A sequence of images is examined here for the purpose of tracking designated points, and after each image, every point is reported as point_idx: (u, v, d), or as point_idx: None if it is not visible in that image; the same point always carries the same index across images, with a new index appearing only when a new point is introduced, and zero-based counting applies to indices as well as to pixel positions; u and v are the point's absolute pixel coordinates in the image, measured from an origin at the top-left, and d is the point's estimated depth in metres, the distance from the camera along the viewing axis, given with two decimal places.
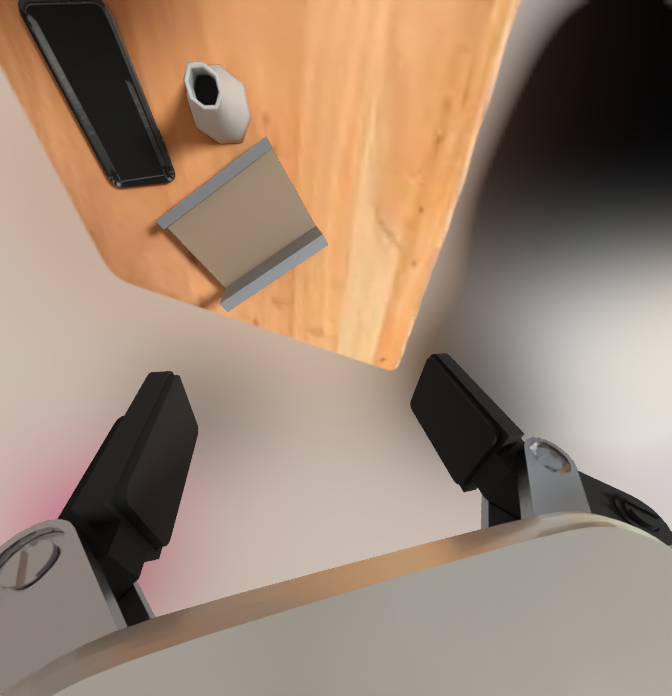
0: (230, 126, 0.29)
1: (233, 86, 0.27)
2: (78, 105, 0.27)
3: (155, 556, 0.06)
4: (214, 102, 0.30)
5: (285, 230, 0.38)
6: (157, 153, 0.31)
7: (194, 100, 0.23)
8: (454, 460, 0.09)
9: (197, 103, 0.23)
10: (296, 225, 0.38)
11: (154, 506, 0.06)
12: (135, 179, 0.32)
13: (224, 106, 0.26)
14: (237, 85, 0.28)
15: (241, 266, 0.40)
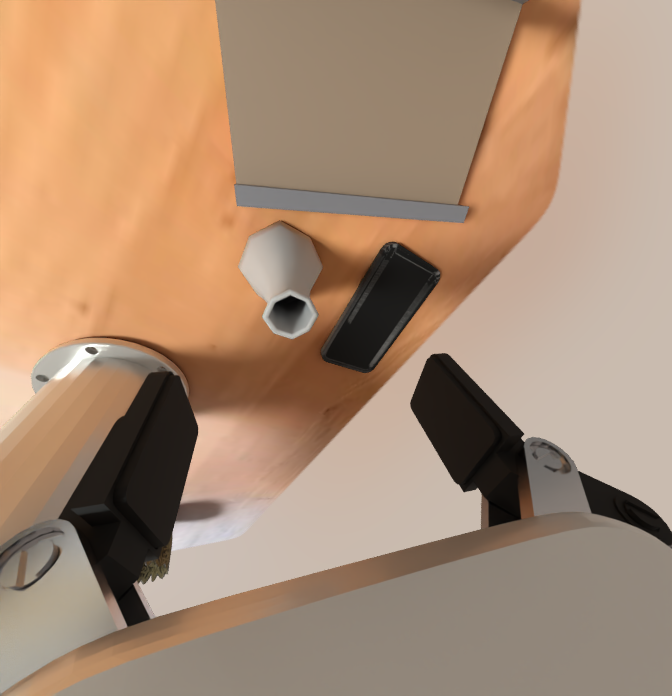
0: (284, 250, 0.18)
1: (251, 278, 0.20)
2: (396, 328, 0.29)
3: (155, 556, 0.06)
4: None
5: None
6: (380, 272, 0.25)
7: (313, 311, 0.15)
8: (455, 460, 0.09)
9: (312, 307, 0.15)
10: None
11: (154, 506, 0.06)
12: (421, 267, 0.26)
13: (277, 276, 0.17)
14: (246, 274, 0.20)
15: (452, 17, 0.15)
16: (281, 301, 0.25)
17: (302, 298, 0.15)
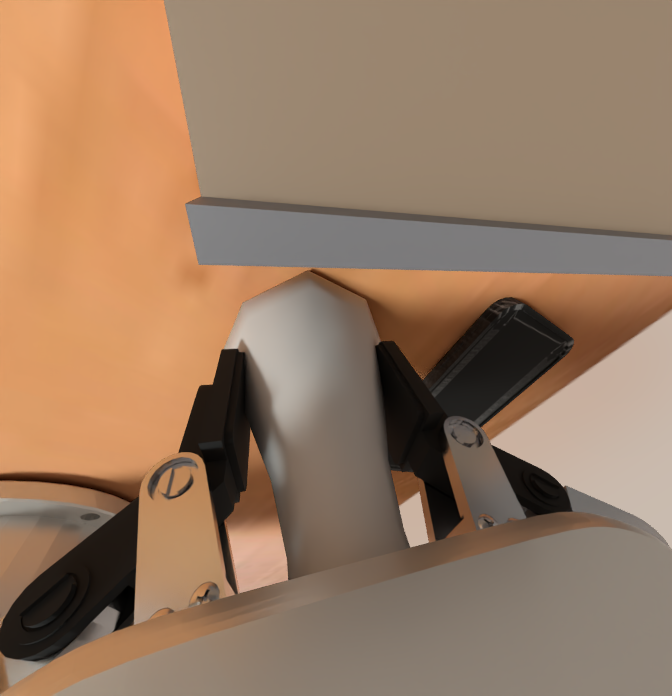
0: (326, 359, 0.07)
1: (245, 406, 0.09)
2: (480, 418, 0.18)
3: (236, 500, 0.08)
4: None
5: None
6: (479, 348, 0.14)
7: None
8: (393, 441, 0.09)
9: None
10: None
11: (240, 455, 0.07)
12: (547, 336, 0.14)
13: (315, 464, 0.06)
14: None
15: None
16: None
17: None
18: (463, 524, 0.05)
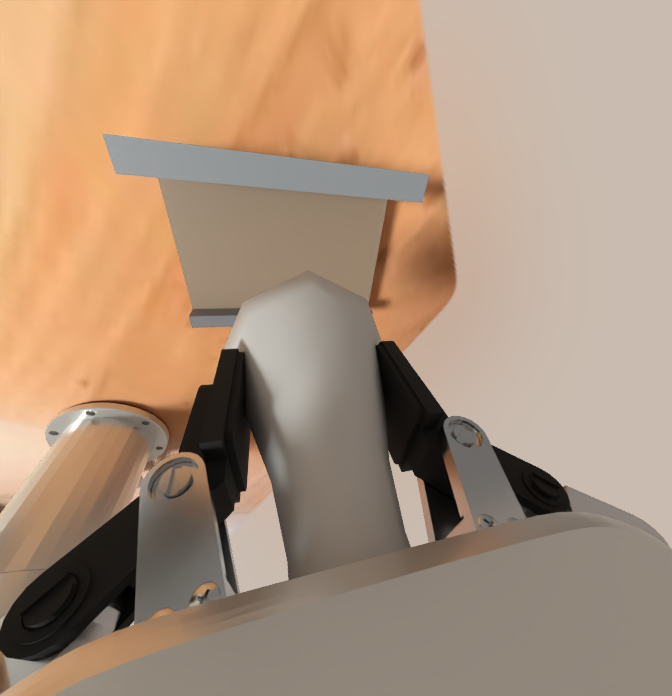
0: (327, 359, 0.07)
1: (245, 406, 0.09)
2: None
3: (236, 500, 0.08)
4: None
5: (226, 207, 0.20)
6: None
7: None
8: (393, 441, 0.09)
9: None
10: (200, 201, 0.19)
11: (241, 454, 0.07)
12: None
13: (316, 465, 0.06)
14: None
15: (337, 207, 0.21)
16: None
17: None
18: (463, 524, 0.05)
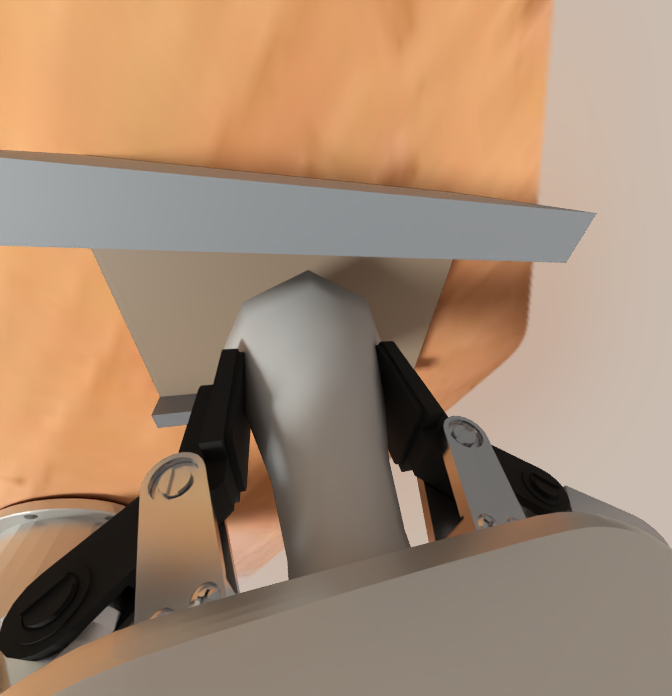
0: (326, 359, 0.07)
1: (245, 406, 0.09)
2: None
3: (236, 500, 0.08)
4: None
5: (203, 258, 0.12)
6: None
7: None
8: (393, 441, 0.09)
9: None
10: (157, 250, 0.11)
11: (241, 454, 0.07)
12: None
13: (316, 464, 0.06)
14: None
15: None
16: None
17: None
18: (463, 524, 0.05)
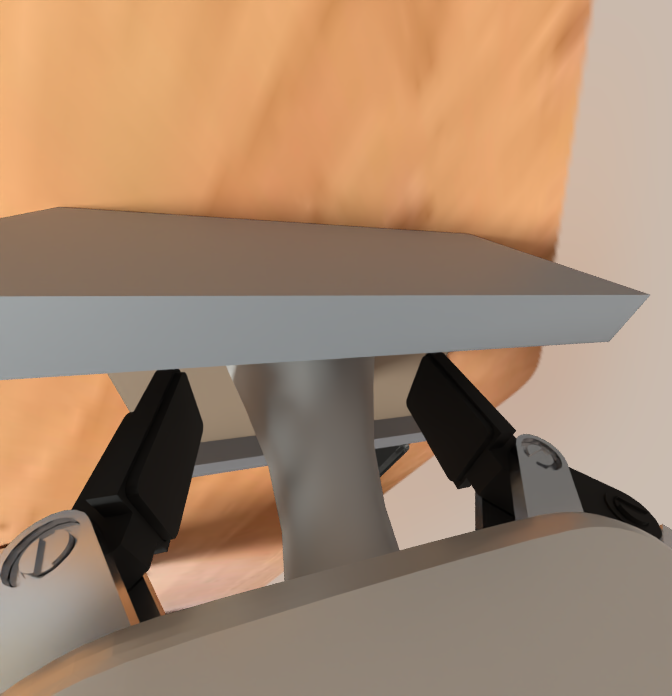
0: None
1: (246, 403, 0.10)
2: None
3: (163, 549, 0.07)
4: None
5: None
6: None
7: None
8: (449, 457, 0.09)
9: None
10: None
11: (163, 499, 0.06)
12: None
13: (304, 450, 0.07)
14: (236, 387, 0.10)
15: None
16: None
17: None
18: None
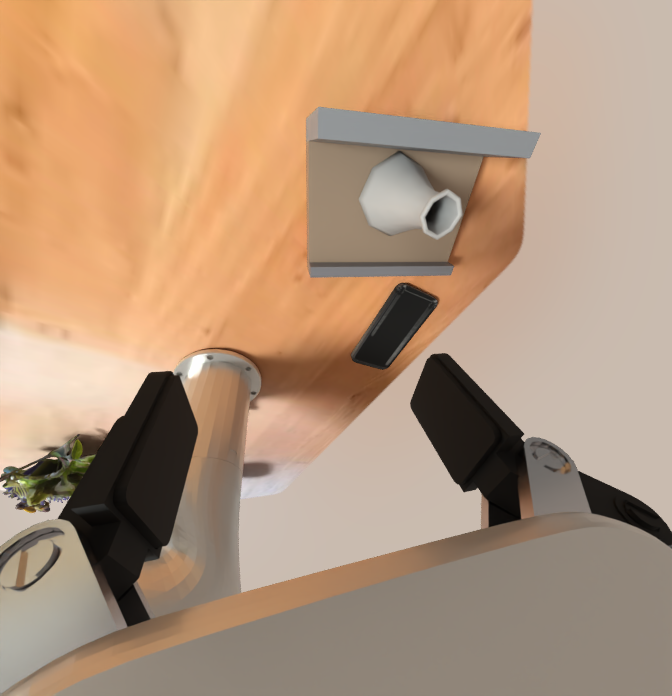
0: (414, 171, 0.21)
1: (380, 202, 0.23)
2: (406, 338, 0.41)
3: (155, 556, 0.06)
4: None
5: (353, 171, 0.24)
6: (394, 302, 0.36)
7: (460, 211, 0.18)
8: (454, 460, 0.09)
9: (460, 207, 0.18)
10: (335, 165, 0.23)
11: (154, 506, 0.06)
12: (423, 298, 0.36)
13: (418, 190, 0.20)
14: (372, 201, 0.24)
15: (439, 169, 0.25)
16: None
17: (455, 197, 0.18)
18: None
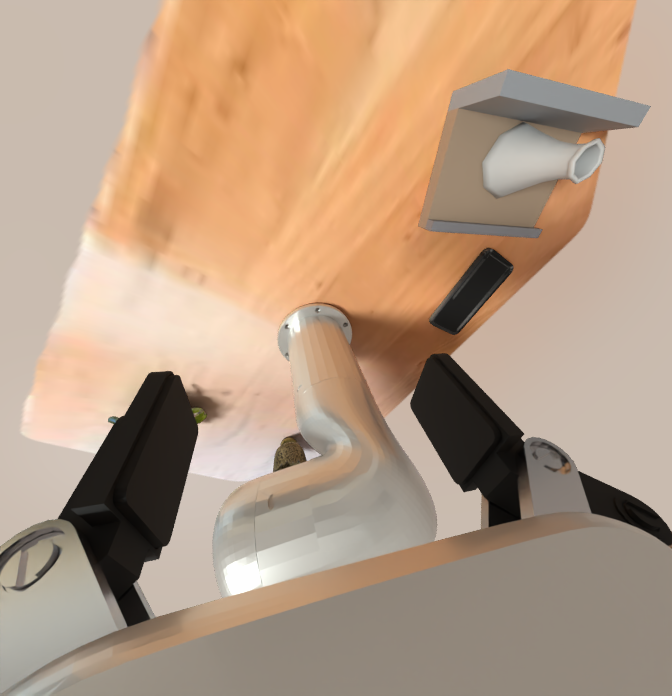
0: (546, 134, 0.26)
1: (511, 161, 0.28)
2: (479, 303, 0.45)
3: (155, 556, 0.06)
4: None
5: (484, 137, 0.29)
6: (479, 266, 0.41)
7: (601, 158, 0.23)
8: (454, 460, 0.09)
9: (602, 155, 0.23)
10: (472, 131, 0.28)
11: (154, 506, 0.06)
12: (503, 263, 0.41)
13: (557, 146, 0.25)
14: (500, 162, 0.29)
15: None
16: None
17: (601, 146, 0.23)
18: None
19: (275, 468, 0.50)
